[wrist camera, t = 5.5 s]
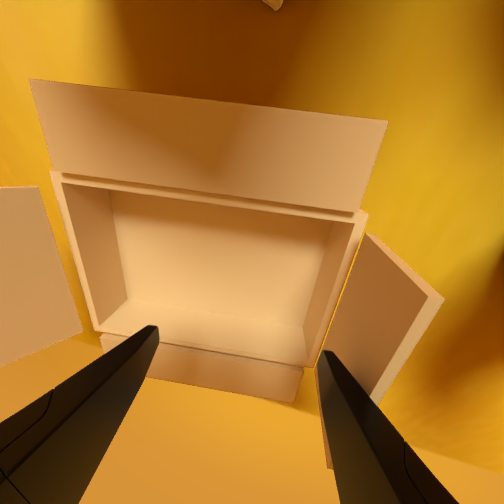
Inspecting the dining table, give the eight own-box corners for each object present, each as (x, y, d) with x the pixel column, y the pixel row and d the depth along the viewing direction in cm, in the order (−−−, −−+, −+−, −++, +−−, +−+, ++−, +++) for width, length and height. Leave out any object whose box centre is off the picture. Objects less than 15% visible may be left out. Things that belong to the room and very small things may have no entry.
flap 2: (365, 232, 10) (374, 234, 10) (314, 370, 14) (320, 371, 14) (428, 296, 5) (445, 299, 5) (327, 468, 10) (336, 470, 9)
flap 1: (-163, 193, 7) (-159, 191, 7) (-29, 379, 11) (-29, 374, 11) (38, 187, 10) (37, 185, 11) (83, 331, 14) (82, 328, 15)
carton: (367, 132, 12) (407, 123, 8) (297, 359, 19) (302, 405, 16) (87, 98, 12) (12, 76, 9) (130, 331, 20) (100, 368, 17)
